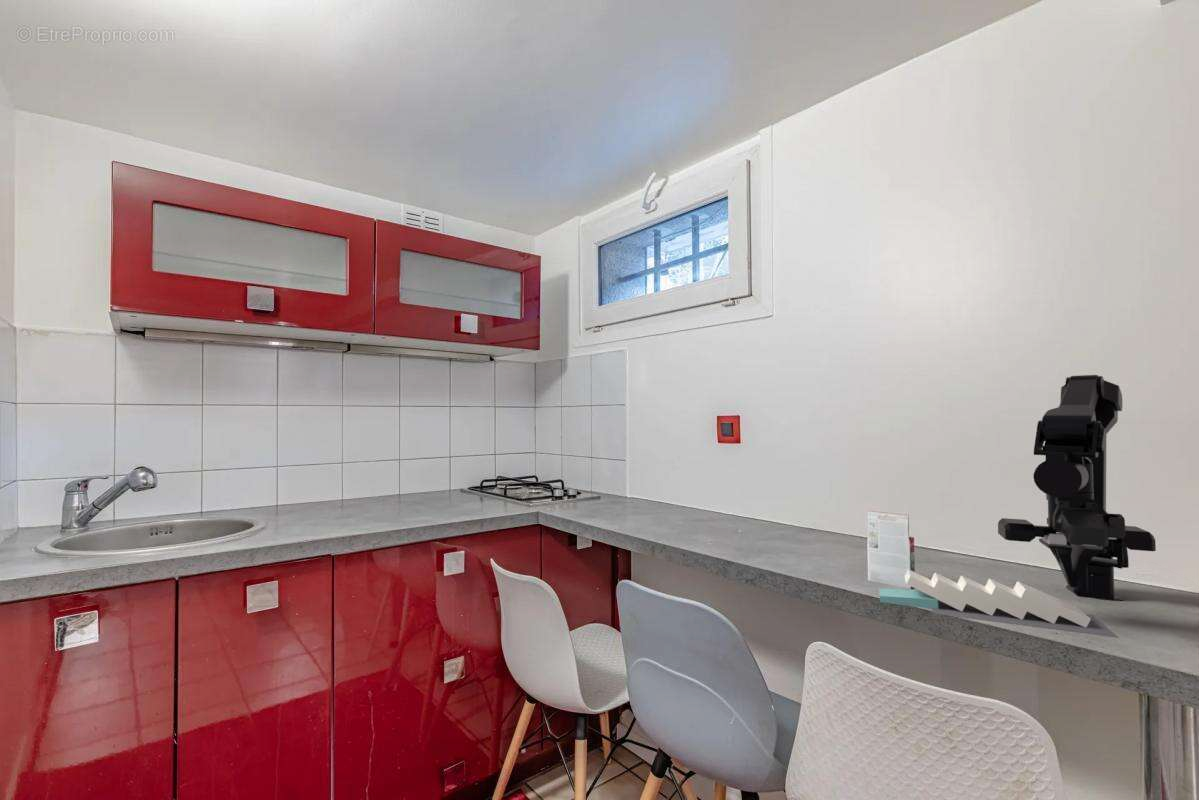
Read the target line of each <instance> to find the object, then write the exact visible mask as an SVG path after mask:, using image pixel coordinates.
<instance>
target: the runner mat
mask: <svg viewBox="0 0 1199 800" xmlns="http://www.w3.org/2000/svg"><path fill="white" fill-rule="evenodd" d="M938 608H939V609H932V608H931V610H932V613H933V614H934V615H940V616H949V617H955V618H963V619H964V618H965V619H969V620H978V621H986V622H987V621H988V622H992V623H993V622H995V623H1000V624H1001V623H1003V624H1010V625H1017V626H1019V625H1020V626H1024V627H1025V626H1027V627H1034V628H1040V629H1049V630H1056V631H1065V632H1072V633H1079V634H1087V635H1095V636H1102V637H1112V638H1118V639H1119V638H1120V636H1118V635H1117V634H1115V632H1113V631H1112V630H1111V629H1110V628H1109V627H1107V626H1106V625H1105V624H1104V623H1103V622H1101V621H1100V620H1099V619H1098V618H1097V617H1096V616H1094V615H1093V614H1086V613H1085V614H1086V615H1087V616H1088V617H1089V618H1090V619H1091V620H1090V622H1089V624H1088V625H1087V627H1086V628H1085V627H1083V626H1081V625H1079V624H1077V623H1075V622H1072V621H1070V620H1068V619H1066V618H1064V617H1062V616H1058V618H1057V620H1056V622H1055V623H1054V624H1053V623H1051V622H1049V621H1047V620H1045V619H1043V618H1040V617H1038V616H1036V615H1034V614H1032V613H1030V612H1026V614H1025V616H1024V618H1023V620H1021V619H1019V618H1017V617H1015V616H1013V615H1011V614H1009V613H1007V612H1005V611H1003V610H1001V609H998V608H996V610H995V612H994V613H993V615H992V616H991V615H989V614H987V613H985V612H983V611H981V610H979V609H977V608H975V607H973V606H971V605H968V604H966V605H965V607H964V609H963V611H960V610H958V609H956V608H954V607H952V606H950V605H948V604H946V603H944V602H942V601H940V600H938Z"/></svg>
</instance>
